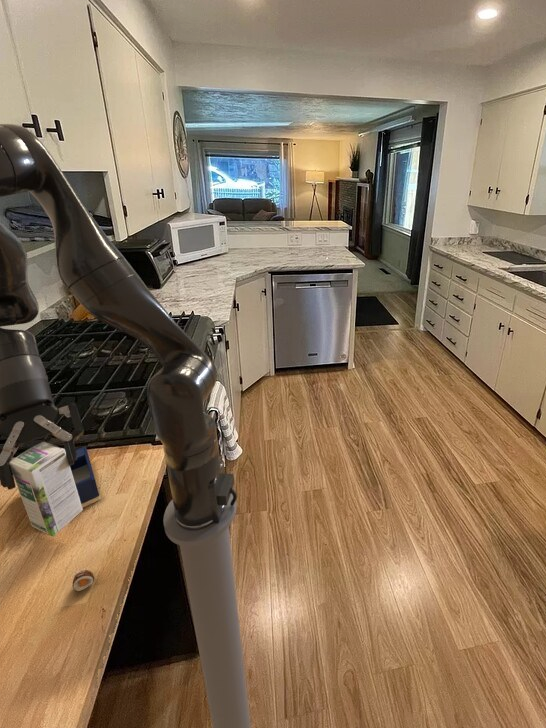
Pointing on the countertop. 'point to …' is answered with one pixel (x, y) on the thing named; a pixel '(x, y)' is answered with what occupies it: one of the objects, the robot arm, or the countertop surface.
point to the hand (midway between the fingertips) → (43, 475)
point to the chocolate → (82, 580)
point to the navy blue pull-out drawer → (84, 478)
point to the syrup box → (46, 487)
